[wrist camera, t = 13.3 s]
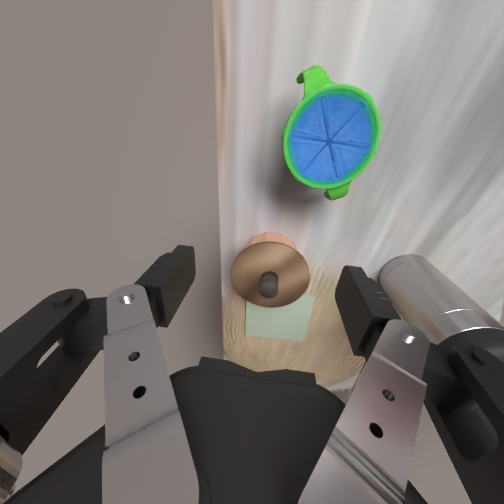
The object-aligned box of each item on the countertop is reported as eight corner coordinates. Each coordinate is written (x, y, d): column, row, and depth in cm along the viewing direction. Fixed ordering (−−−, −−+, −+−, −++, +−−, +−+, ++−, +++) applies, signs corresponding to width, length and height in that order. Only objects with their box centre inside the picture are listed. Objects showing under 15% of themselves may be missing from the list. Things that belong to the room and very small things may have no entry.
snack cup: (271, 90, 30) (268, 73, 22) (350, 62, 28) (382, 30, 19) (291, 197, 37) (295, 217, 29) (355, 181, 35) (381, 198, 26)
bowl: (309, 253, 42) (314, 271, 37) (275, 287, 47) (275, 308, 42) (264, 221, 40) (262, 236, 35) (234, 261, 45) (227, 279, 40)
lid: (326, 270, 36) (331, 286, 33) (276, 315, 43) (276, 333, 39) (260, 225, 34) (258, 237, 30) (218, 280, 40) (212, 295, 36)
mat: (303, 340, 55) (304, 342, 54) (245, 333, 56) (244, 335, 55) (314, 294, 47) (315, 296, 47) (247, 287, 48) (246, 289, 48)
